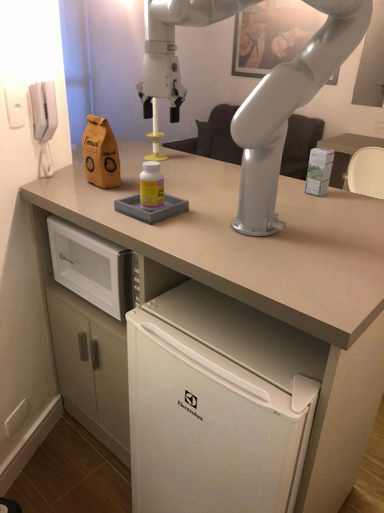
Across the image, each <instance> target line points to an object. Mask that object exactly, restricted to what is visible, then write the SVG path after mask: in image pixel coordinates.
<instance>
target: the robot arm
mask: <svg viewBox="0 0 384 513" xmlns="http://www.w3.org/2000/svg"><path fill="white" fill-rule="evenodd" d="M264 1H265V2H266V0H143V25H144V26H143V28H144V53H145V54H144V55H143V62H142V74H141V75H142V76H141V77H142V80H141V81H140V82H138V83H137V84H136V85H135V88H136V91H137V94H138V95H137V96H138V97H139V99H140V102H141V104H142V110H143V111H142V112H143V114H142V116H143V119H144V120H150V119H153V97H155V98H158V99H167V100H168V102H169V104H170V105H171V106H170V107H169V123H170V124H178V123H180V119H181V118H180V117H181V116H180V115H181V114H180V112H181V111H180V110H181V108H180V107H182V105H183V103H184V102H185V101H186V97H187V94H188V92H189V91H188V89H187V88H186V86H184V85H183V84H182V79H181V70H180V69H181V67H180V62H179V58H178V56H176V51H177V50H178V45H177V44H176V26H179V27H190V28H191V27H192V28H204V27H207V26H210V25H214V24H216V23H219V22H222V21H224V20H227V19H230V18H231V17H234V16H235V15H237V14H239V13H241V12H243V11H244V10H245V9H247V8H249V7H251V6H254V5H257V4H259V3H262V2H264ZM300 1H301V2H303V3H305V4H306V5H308V6H310V7H311V8H313V9H315V10H317V11H318V12H320V13H322V14H325V15H326V16H327V18H326V20H325V22H324V24H323V25H322V26H321V27H320V28H319V29H318V30H317V31H316V32H315V33H314V34H313V35H312V37H311V38H310V39H309V40H308V41H307V43H306V44H305V45H304V46H303V48H302V49H301V50H300V51H299V53H297V55H296V56H295V57H294V58H293V59H292V60H290V61H286V62H281V63H279V64H277V65H275V66H274V67H273V68H271V69H269V71H268V72H267V73H266V74H264V76H263V77H262V78H261V79H260V81H259V82H258V83H257V84H256V86H255V87H254V88H253V90H252V91H251V92H250V93H249V95H248V96H247V97H246V98H245V100H244V101H243V102H242V103H241V104H240V106H239V108H238V109H236V111H235V113H234V115H233V117H232V120H231V121H230V135H231V138H232V140H233V142H234V143H235V145H237V146H238V147H240V148H241V149H243V152H242V158H241V169H240V182H239V191H238V192H239V193H238V205H237V215H236V216H235V217H233V218H232V219H231V221H230V227H231V229H233V231H236V232H237V233H240V234H243V235H245V236H246V235H247V236H252V237H266V236H271V235H273V234H276V233H277V232H282V233H283V232H285V231H286V228H287V226H286V225H287V221H285V220H281V219H279V218H278V217H279V212H276V204H277V196H278V188H279V181H280V171H281V165H282V158H283V157H282V156H283V151H284V146H285V142H286V137H287V133H288V130H289V129H288V128H289V119H290V118H291V116H292V115H293V114H294V113H295V112H296V111H297V109H300V108H304V107H305V106H307V105H308V104H309V103H310V102H311V101H312V100H313V99H314V98H315V96H316V95H317V94H318V93H319V92H320V91H321V90H322V88H323V87H324V86H325V85H326V84H327V83H328V81H329V80H330V79H332V77H333V76H334V75H335V74H336V72H338V71H339V69H340V68H341V66H342V65H343V64H344V63H345V62H346V60H348V59H349V57H350V56H351V55H352V54H353V52H355V50H357V48H358V47H359V45H360V44H361V42H362V41H363V39H364V37H365V36H366V34H367V32H368V30H369V28H370V27H369V26H370V24H371V22H372V17H373V10H374V2H373V0H300Z"/></svg>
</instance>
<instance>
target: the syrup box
mask: <svg viewBox="0 0 384 513" xmlns="http://www.w3.org/2000/svg"><path fill="white" fill-rule="evenodd" d="M334 157H335V149H329V148H325V147H319V146H318V147H317V146H316V147H314V148H312V149H310V153H309V160H308V167H307V174H306V179H305V187H304V193H305V194H308V195H311V196H316V197H322V196H324V195H326V194H328V191H329V184H330V179H331V174H332V169H333V168H332V167H333V164H334V163H333V162H334Z"/></svg>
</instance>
